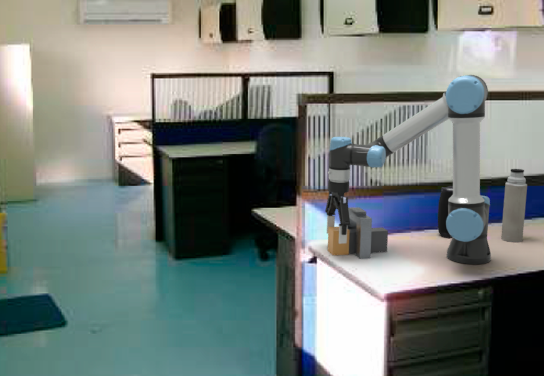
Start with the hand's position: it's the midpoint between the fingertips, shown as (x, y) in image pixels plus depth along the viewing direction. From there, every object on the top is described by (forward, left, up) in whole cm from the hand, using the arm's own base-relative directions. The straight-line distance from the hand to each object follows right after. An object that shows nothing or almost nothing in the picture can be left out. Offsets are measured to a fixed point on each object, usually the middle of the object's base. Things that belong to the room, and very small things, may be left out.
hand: (336, 238), depth 254 cm
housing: (0, -8, -5) cm, 9 cm away
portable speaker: (+14, -52, -6) cm, 54 cm away
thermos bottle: (+4, -74, -6) cm, 75 cm away
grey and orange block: (0, -8, -6) cm, 10 cm away
